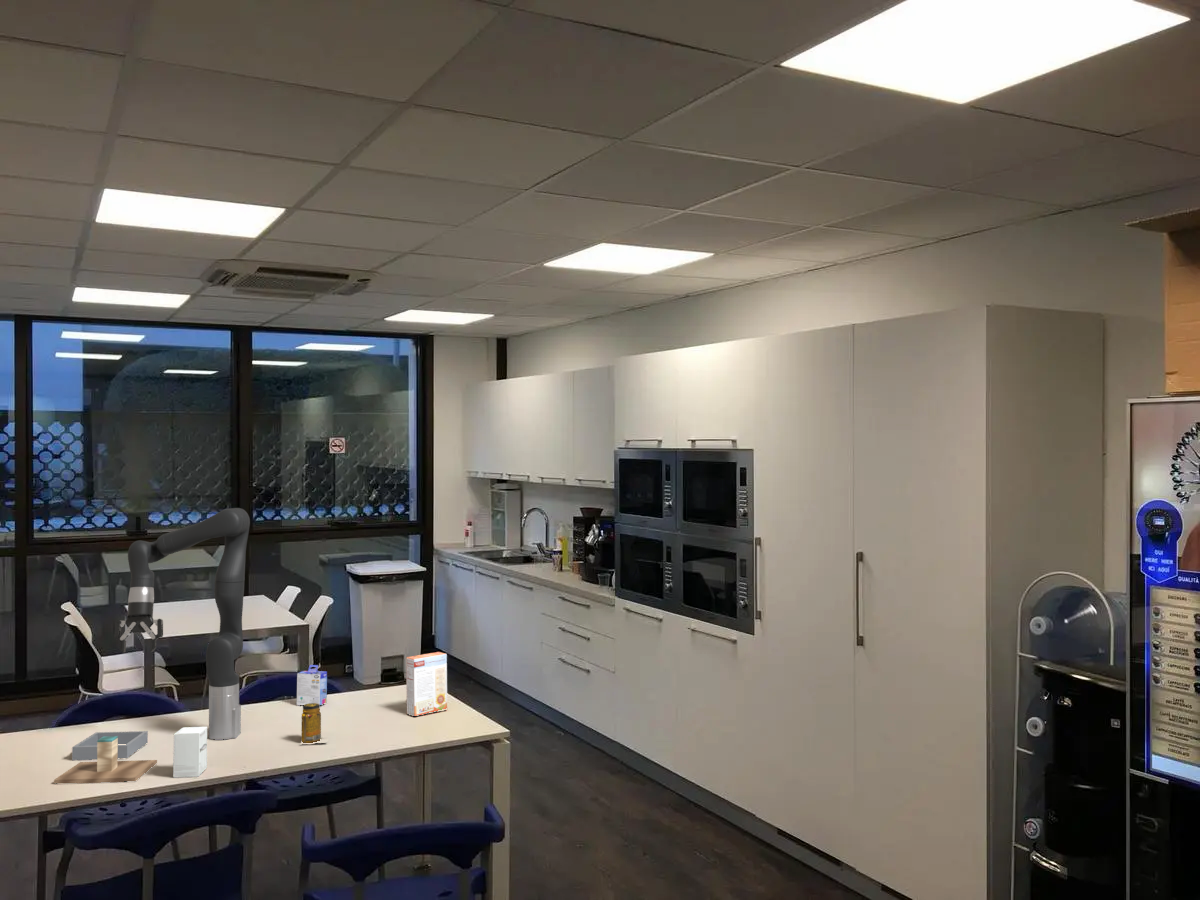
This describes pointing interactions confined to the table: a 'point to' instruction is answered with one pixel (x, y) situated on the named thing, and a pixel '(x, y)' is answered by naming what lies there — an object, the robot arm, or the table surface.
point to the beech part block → (107, 753)
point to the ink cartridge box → (312, 686)
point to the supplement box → (190, 752)
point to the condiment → (311, 723)
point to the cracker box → (426, 683)
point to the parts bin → (131, 739)
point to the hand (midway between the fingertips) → (137, 651)
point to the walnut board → (123, 772)
